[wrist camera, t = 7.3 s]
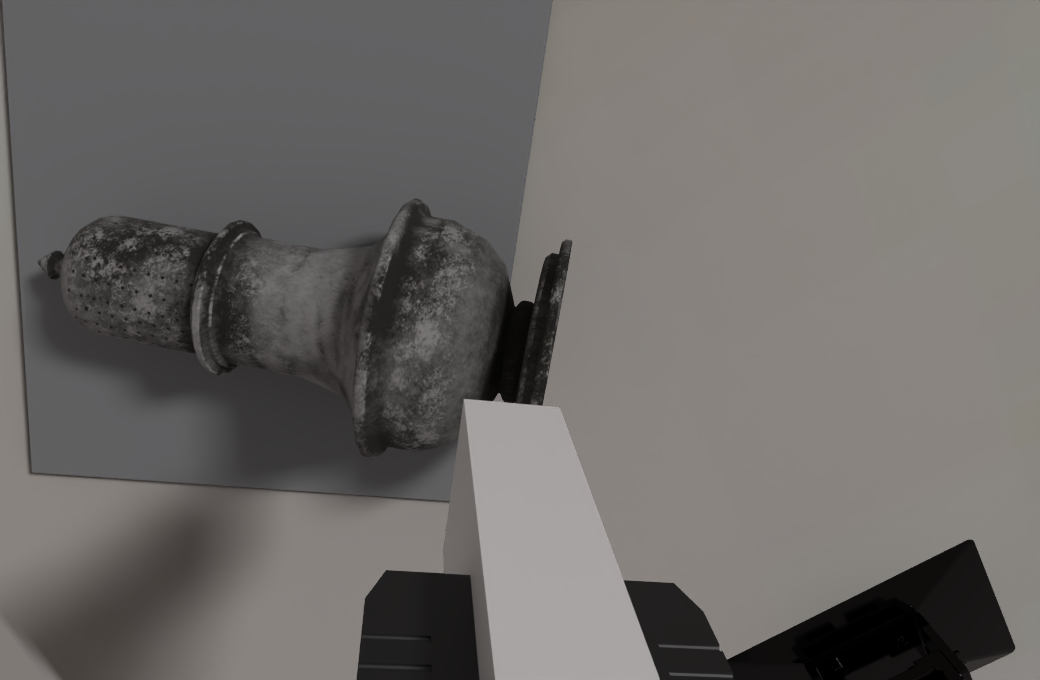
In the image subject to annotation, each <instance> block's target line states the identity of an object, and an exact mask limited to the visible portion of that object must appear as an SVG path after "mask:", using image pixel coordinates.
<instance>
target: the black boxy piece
mask: <svg viewBox="0 0 1040 680" xmlns="http://www.w3.org/2000/svg"><path fill="white" fill-rule="evenodd" d="M1014 650H1015V645H1014V643H1013V640H1012V637H1011V635H1010V632H1009V630H1008V627H1007V625H1006V622H1005V620H1004V617H1003V614H1002V612H1001V609H1000V607H999V604H998V602H997V599H996V597H995V594H994V591H993V589H992V586H991V584H990V581H989V579H988V576H987V574H986V571H985V568H984V566H983V563H982V561H981V558H980V556H979V553H978V551H977V548H976V545H975V543H974V541H973V540H967V541H965V542H963V543H961V544H959V545H957V546H954V547H952V548H950V549H948V550H946V551H944V552H942V553H940V554H938V555H936V556H934V557H932V558H930V559H928V560H926V561H924V562H922V563H920V564H918V565H916V566H914V567H912V568H910V569H908V570H906V571H904V572H902V573H900V574H898V575H896V576H894V577H892V578H890V579H888V580H886V581H884V582H882V583H880V584H878V585H876V586H874V587H872V588H870V589H868V590H866V591H864V592H862V593H860V594H858V595H856V596H854V597H852V598H850V599H848V600H846V601H844V602H842V603H840V604H838V605H836V606H834V607H832V608H830V609H828V610H826V611H824V612H822V613H820V614H818V615H816V616H814V617H812V618H810V619H808V620H806V621H804V622H802V623H800V624H798V625H796V626H794V627H792V628H790V629H788V630H786V631H784V632H782V633H780V634H778V635H776V636H774V637H772V638H770V639H768V640H766V641H764V642H762V643H760V644H758V645H756V646H754V647H752V648H750V649H748V650H746V651H744V652H742V653H740V654H738V655H736V656H734V657H732V658H730V659H728V660H727V661H728V663H729V665H730V667H731V669H732V672H733V680H972V678H971V675H970V672H972V671H974V670H976V669H978V668H980V667H983V666H985V665H987V664H989V663H991V662H993V661H995V660H997V659H999V658H1002V657H1004V656H1006V655H1008V654H1010V653H1012V652H1013V651H1014Z"/></svg>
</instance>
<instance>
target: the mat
mask: <svg viewBox="0 0 1040 680" xmlns="http://www.w3.org/2000/svg"><path fill="white" fill-rule="evenodd" d="M552 1H553V0H2V8H3V24H4V40H5V56H6V72H7V87H8V103H9V119H10V135H11V151H12V166H13V182H14V198H15V214H16V230H17V245H18V261H19V277H20V293H21V309H22V324H23V340H24V356H25V372H26V388H27V403H28V419H29V435H30V451H31V467H32V473H47V474H61V475H76V476H90V477H105V478H120V479H134V480H149V481H163V482H178V483H192V484H207V485H222V486H236V487H251V488H265V489H280V490H295V491H309V492H324V493H338V494H353V495H368V496H382V497H397V498H411V499H426V500H441V501H450V497H451V489H452V482H453V475H454V467H455V460H456V453H457V445H458V440H456V441H455V442H453V443H452V444H450V445H448V446H443V447H438V448H433V449H427V450H422V451H416V452H412V451H407V450H402V449H396V448H391V447H387V449H386V451H385V452H383V453H382V454H381V455H380V456H378V457H377V458H375V459H371V458H368V457H365V456H362V454H361V453H360V451H359V449H358V447H357V444H356V442H355V437H354V429H353V420H352V412H351V410H350V409H349V407H348V406H347V404H346V402H345V401H344V399H343V398H342V396H340V395H338V394H336V393H334V392H332V391H330V390H328V389H326V388H324V387H322V386H320V385H317V384H315V383H313V382H310V381H308V380H306V379H303V378H301V377H295V376H290V375H285V374H280V373H275V372H269V371H264V370H259V369H254V368H249V367H243V366H238V367H236V368H235V369H233V370H232V371H231V372H229V373H228V374H224V375H214V374H212V373H209V372H207V371H206V370H205V369H204V367H203V366H202V365H201V363H200V362H199V360H198V358H197V355H196V354H194V353H188V352H183V351H178V350H173V349H168V348H162V347H157V346H152V345H147V344H142V343H136V342H131V341H126V340H121V339H115V338H110V337H105V336H101V335H99V334H97V333H94V332H92V331H90V330H88V329H85V328H83V327H82V326H81V325H80V324H79V323H78V322H77V321H76V320H75V319H74V317H73V316H72V315H71V314H70V312H69V311H68V309H67V307H66V305H65V303H64V301H63V297H62V292H61V285H60V277H59V278H58V279H56V280H55V279H50V278H49V277H48V276H47V274H46V272H44V271H43V270H42V268H41V266H39V265H38V260H39V259H42V258H43V257H44V256H46V255H49V254H50V253H52V252H53V251H55V250H57V251H61V252H62V253H63V254H65V252H66V250H67V248H68V246H69V244H70V242H71V240H72V239H73V237H74V236H75V235H76V234H77V233H78V231H79V230H80V229H82V228H83V227H85V226H86V225H88V224H89V223H91V222H93V221H95V220H96V219H98V218H102V217H106V216H119V215H121V216H127V217H132V218H138V219H143V220H148V221H154V222H159V223H165V224H170V225H176V226H181V227H187V228H192V229H197V230H203V231H208V232H214V233H219V232H220V231H221V230H222V229H223V228H225V227H226V226H227V225H228V224H229V223H231V222H234V221H237V220H243V221H247V222H250V223H252V224H253V225H254V226H255V227H256V228H257V229H258V230H259V232H260V234H261V236H262V238H265V239H271V240H276V241H282V242H287V243H293V244H298V245H304V246H309V247H315V248H320V249H342V248H354V247H365V246H372V245H374V244H375V243H376V242H378V241H379V240H380V239H382V238H383V237H384V236H385V235H386V234H387V233H388V230H389V228H390V226H391V224H392V221H393V219H394V218H395V216H396V215H397V213H398V212H399V210H400V209H401V207H402V206H403V205H404V204H406V203H408V202H409V201H411V200H413V199H415V198H416V199H420V200H421V201H423V202H424V203H426V204H427V206H428V207H429V210H430V213H431V216H432V217H438V218H444V219H449V220H455V221H457V222H458V223H460V224H462V225H463V226H465V227H466V228H468V229H470V230H471V231H473V232H475V233H476V234H478V235H479V236H481V237H483V238H484V239H486V240H487V241H488V242H489V243H490V244H491V246H492V247H493V248H494V250H495V251H496V252H497V254H498V255H499V256H500V258H501V259H502V260H503V262H504V263H505V264H506V267H507V272H508V277H509V281H510V282H511V275H512V269H513V262H514V255H515V249H516V242H517V235H518V229H519V222H520V215H521V209H522V202H523V195H524V188H525V182H526V175H527V168H528V162H529V155H530V148H531V142H532V135H533V128H534V122H535V115H536V108H537V102H538V95H539V88H540V82H541V75H542V68H543V62H544V55H545V48H546V42H547V35H548V28H549V21H550V15H551V8H552Z"/></svg>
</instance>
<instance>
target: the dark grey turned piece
mask: <svg viewBox="0 0 1040 680" xmlns="http://www.w3.org/2000/svg"><path fill="white" fill-rule="evenodd" d="M571 246H572V240H567V239H566V240H565V241H564V242H562V245H561V248H560V252H559V254H554V253H552V254H550V255H549V256H547V257H546V258H545V261H544V264H543V268H542V272H541V275H540V280H539V284H538V289H537V293H536V298H535V302H534V303H532V302H529V301H522V302H520V303H519V304H518V305H517V307H515V306H514V301H513V296H512V291H511V286H510V281H509V277H508V272H507V267H506V264H505V263H504V262H503V260H502V259H501V258H500V256H499V255H498V254H497V252H496V251H495V250H494V248H493V247H492V246H491V244H490V243H489V242H488V241H487V240H486V239H484V238H483V237H481V236H479V235H478V234H476V233H475V232H473V231H471V230H470V229H468V228H466V227H465V226H463V225H462V224H460V223H458V222H457V221H455V220H449V219H444V218H438V217H432V216H431V213H430V210H429V207H428V206H427V204H426V203H424V202H423V201H421V200H420V199H416V198H415V199H413V200H411V201H409V202H408V203H406V204H404V205H403V206H402V207H401V209H400V210H399V212H398V213H397V215H396V216H395V218H394V219H393V221H392V224H391V226H390V228H389V230H388V233H387V234H386V235H385V236H384V237H383V238H382V239H380V240H379V241H378V242H376V243H375V244H374V245H372V246H365V247H354V248H342V249H320V248H315V247H309V246H304V245H298V244H293V243H287V242H282V241H276V240H271V239H265V238H262V236H261V234H260V232H259V230H258V229H257V228H256V227H255V226H254V225H253V224H252V223H250V222H247V221H243V220H237V221H234V222H231V223H229V224H228V225H227V226H226V227H225V228H223V229H222V230H221V231H220V232H219V233H214V232H208V231H203V230H197V229H192V228H187V227H181V226H176V225H170V224H165V223H159V222H154V221H148V220H143V219H138V218H132V217H127V216H121V215H119V216H106V217H102V218H98V219H96V220H95V221H93V222H91V223H89V224H88V225H86V226H85V227H83V228H82V229H80V230H79V231H78V233H77V234H76V235H75V236H74V237H73V239H72V240H71V242H70V244H69V246H68V248H67V250H66V252H65V254H63V253H62V252H61V251H57V250H55V251H53V252H52V253H50V254H49V255H46V256H44V257H43V258H42V259H39V260H38V265H39V266H41V268H42V270H43V271H44V272H46V274H47V276H48V277H49V278H50V279H55V280H56V279H58V278H59V277H60V285H61V292H62V297H63V301H64V303H65V305H66V307H67V309H68V311H69V312H70V314H71V315H72V316H73V317H74V319H75V320H76V321H77V322H78V323H79V324H80V325H81V326H82V327H83V328H85V329H88V330H90V331H92V332H94V333H97V334H99V335H101V336H105V337H110V338H115V339H121V340H126V341H131V342H136V343H142V344H147V345H152V346H157V347H162V348H168V349H173V350H178V351H183V352H188V353H194V354H196V355H197V358H198V360H199V362H200V363H201V365H202V366H203V367H204V369H205V370H206V371H207V372H209V373H212V374H214V375H224V374H228V373H229V372H231V371H232V370H233V369H235V368H236V367H238V366H243V367H249V368H254V369H259V370H264V371H269V372H275V373H280V374H285V375H290V376H295V377H301V378H303V379H306V380H308V381H310V382H313V383H315V384H317V385H320V386H322V387H324V388H326V389H328V390H330V391H332V392H334V393H336V394H338V395H340V396H342V398H343V399H344V401H345V402H346V404H347V406H348V407H349V409H350V410H351V412H352V420H353V429H354V437H355V442H356V444H357V447H358V449H359V451H360V453H361V454H362V456H365V457H368V458H371V459H375V458H377V457H378V456H380V455H381V454H382V453H383V452H385V451H386V449H387V447H391V448H396V449H402V450H407V451H412V452H416V451H422V450H427V449H433V448H438V447H443V446H448V445H450V444H452V443H453V442H455V441H456V440H458V438H459V431H460V423H461V416H462V409H463V401H464V399H471V400H482V401H493V400H494V399H495V397H496V396H497V394H498V393H500V394H501V397H502V400H503V401H504V402H507V403H515V402H516V404H527V405H539V406H542V405H543V400H544V394H545V389H546V384H547V378H548V373H549V368H550V363H551V357H552V352H553V346H554V341H555V336H556V330H557V325H558V319H559V314H560V308H561V303H562V297H563V292H564V286H565V281H566V275H567V270H568V264H569V258H570V252H571Z"/></svg>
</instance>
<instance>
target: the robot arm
mask: <svg viewBox="0 0 1040 680" xmlns="http://www.w3.org/2000/svg"><path fill="white" fill-rule="evenodd" d="M443 556H444V573H426V572H407V571H389V570H386V571H385V573H384V574H383V575H382V577H381V578H380V579H379V581H378V582H377V583H376V585H375V586H374V587H373V589H372V590H371V591H370V592H369V594H368V595H367V596H366V598H365V605H364V614H363V624H362V633H361V643H360V653H359V662H358V672H357V680H733V672H732V669H731V667H730V665H729V663H728V661H727V659H726V657H725V655H724V653H723V651H720V650H719V643H718V641H717V639H716V637H715V635H714V633H713V631H712V629H711V626H710V624H709V622H708V620H707V618H706V616H705V614H704V612H703V611H702V610H701V609H700V608H699V607H698V606H697V605H696V604H695V603H694V602H693V601H692V600H691V599H690V598H689V597H688V596H687V595H686V594H684V593H683V592H682V591H681V590H680V589H679V588H678V587H677V586H676V585H675V584H674V583H661V582H643V581H625V580H623V578H622V575H621V573H620V570H619V567H618V564H617V562H616V559H615V556H614V554H613V551H612V548H611V545H610V543H609V540H608V537H607V535H606V532H605V529H604V526H603V524H602V521H601V518H600V516H599V513H598V510H597V507H596V505H595V502H594V499H593V497H592V494H591V491H590V488H589V486H588V483H587V480H586V478H585V475H584V472H583V469H582V467H581V464H580V461H579V459H578V456H577V453H576V451H575V448H574V445H573V442H572V440H571V437H570V434H569V432H568V429H567V426H566V423H565V421H564V418H563V415H562V413H561V410H560V407H550V406H539V405H527V404H516V403H505V402H494V401H482V400H471V399H464V401H463V409H462V416H461V423H460V431H459V438H458V445H457V453H456V460H455V467H454V475H453V482H452V489H451V497H450V504H449V511H448V519H447V526H446V533H445V541H444V548H443Z"/></svg>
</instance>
